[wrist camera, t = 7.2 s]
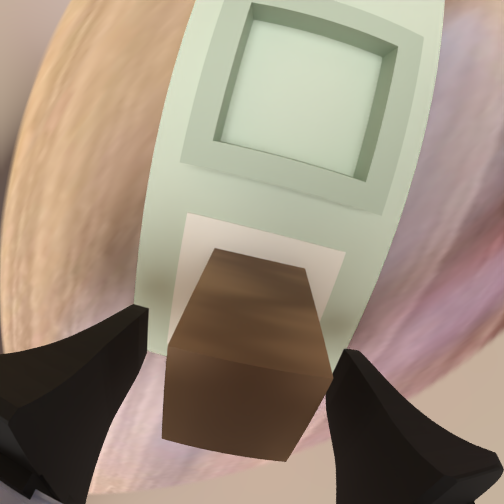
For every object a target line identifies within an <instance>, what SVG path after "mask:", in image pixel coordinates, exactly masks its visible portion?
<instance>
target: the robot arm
mask: <svg viewBox="0 0 504 504" xmlns="http://www.w3.org/2000/svg"><path fill="white" fill-rule="evenodd" d="M148 319H149V308H146V307H142V306H139V305H135V304H133V305H131V306H129V307H127V308H125V309H123V310H122V311H120V312H118V313H116V314H114V315H113V316H111V317H109V318H107V319H105V320H103V321H102V322H100V323H98V324H96V325H94V326H92V327H90V328H88V329H86V330H83V331H81V332H79V333H77V334H75V335H73V336H70V337H68V338H65V339H63V340H60V341H57V342H54V343H51V344H48V345H45V346H41V347H37V348H33V349H29V350H25V351H20V352H14V353H8V354H0V504H85V503H86V498H87V495H88V491H89V487H90V483H91V480H92V476H93V473H94V469H95V466H96V463H97V460H98V457H99V454H100V451H101V448H102V446H103V443H104V440H105V438H106V435H107V432H108V430H109V427H110V425H111V423H112V421H113V419H114V417H115V415H116V413H117V411H118V409H119V408H120V406H121V404H122V402H123V400H124V399H125V397H126V395H127V393H128V391H129V390H130V388H131V386H132V384H133V383H134V381H135V379H136V377H137V375H138V374H139V371H140V369H141V366H142V364H143V361H144V359H145V356H146V354H147V341H148ZM332 374H333V380H332V382H331V384H330V386H329V388H328V390H327V392H326V411H327V417H328V423H329V429H330V434H331V439H332V445H333V450H334V456H335V464H336V486H337V487H336V504H475V503H474V501H475V500H476V499H477V498H478V497H479V496H481V495H482V494H483V493H484V492H486V491H487V490H488V489H489V488H490V487H491V486H492V485H493V484H495V483H496V482H497V481H498V479H499V478H500V477H501V475H502V473H503V470H504V469H503V466H502V464H501V462H500V460H499V458H498V456H497V454H496V453H495V452H492V451H489V450H487V449H484V448H481V447H479V446H476V445H474V444H472V443H469V442H467V441H465V440H463V439H461V438H459V437H458V436H456V435H454V434H452V433H450V432H449V431H447V430H446V429H444V428H442V427H441V426H439V425H438V424H436V423H435V422H433V421H432V420H431V419H429V418H428V417H427V416H425V415H424V414H423V413H421V412H420V411H419V410H418V409H416V408H415V407H414V406H413V405H412V404H411V403H410V402H409V401H407V400H406V399H405V398H404V397H403V396H402V395H401V394H400V393H399V392H398V391H397V390H396V389H395V388H394V387H393V386H392V385H391V384H390V383H389V382H388V381H387V380H386V379H385V378H384V376H383V375H382V374H381V373H380V372H379V371H378V370H377V369H376V368H375V367H374V366H373V365H372V363H371V362H370V361H369V360H368V359H367V358H366V357H365V356H364V355H363V354H362V353H361V352H360V351H358V350H351V349H344V350H343V352H342V354H341V356H340V358H339V361H338V363H337V365H336V367H335V369H334V371H333V373H332Z"/></svg>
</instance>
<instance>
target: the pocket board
mask: <svg viewBox="0 0 504 504" xmlns="http://www.w3.org/2000/svg"><path fill="white" fill-rule="evenodd" d="M444 2H445V0H196V2H195V4H194V7H193V10H192V13H191V16H190V19H189V22H188V25H187V28H186V31H185V34H184V37H183V40H182V43H181V46H180V49H179V53H178V56H177V60H176V63H175V66H174V70H173V74H172V77H171V81H170V85H169V88H168V92H167V96H166V100H165V104H164V108H163V112H162V117H161V121H160V125H159V130H158V135H157V139H156V144H155V149H154V154H153V159H152V164H151V170H150V175H149V181H148V187H147V193H146V199H145V206H144V212H143V219H142V227H141V234H140V243H139V251H138V261H137V271H136V282H135V294H134V304H135V305H139V306H142V307H146V308H149V319H148V341H147V351H150V352H153V353H157V354H160V355H163V356H167V348H168V344H169V342H170V339H171V337H172V335H173V333H174V331H175V329H176V327H177V325H178V322H179V320H180V318H181V316H182V314H183V312H184V310H185V308H186V306H187V304H188V301H189V299H190V297H191V295H192V293H193V291H194V289H195V287H196V285H197V283H198V281H199V279H200V277H201V275H202V273H203V271H204V269H205V267H206V265H207V263H208V261H209V258H210V256H211V254H212V252H213V250H214V248H217V249H222V250H226V251H230V252H235V253H239V254H244V255H248V256H252V257H257V258H261V259H265V260H270V261H274V262H279V263H283V264H287V265H292V266H296V267H301V268H305V270H306V274H307V277H308V281H309V284H310V288H311V292H312V295H313V299H314V303H315V307H316V310H317V314H318V318H319V322H320V326H321V330H322V334H323V338H324V342H325V346H326V350H327V354H328V358H329V362H330V366H331V370H332V373H333V371H334V369H335V367H336V365H337V363H338V361H339V358H340V356H341V354H342V352H343V350H344V349H347V347H348V345H349V343H350V340H351V338H352V336H353V334H354V332H355V330H356V328H357V326H358V323H359V321H360V319H361V317H362V315H363V312H364V310H365V308H366V306H367V303H368V301H369V299H370V296H371V294H372V292H373V289H374V287H375V284H376V282H377V280H378V277H379V275H380V272H381V270H382V267H383V264H384V262H385V259H386V257H387V254H388V251H389V249H390V246H391V243H392V240H393V238H394V235H395V232H396V229H397V226H398V223H399V220H400V217H401V214H402V211H403V208H404V205H405V202H406V199H407V196H408V192H409V189H410V186H411V182H412V179H413V176H414V172H415V168H416V165H417V161H418V157H419V154H420V150H421V146H422V142H423V138H424V134H425V129H426V125H427V120H428V116H429V111H430V106H431V101H432V96H433V91H434V85H435V80H436V74H437V67H438V60H439V53H440V46H441V37H442V27H443V16H444Z"/></svg>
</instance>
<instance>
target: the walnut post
mask: <svg viewBox="0 0 504 504" xmlns="http://www.w3.org/2000/svg"><path fill="white" fill-rule="evenodd" d="M332 380H333V374H332V370H331V366H330V362H329V358H328V354H327V350H326V346H325V342H324V338H323V334H322V330H321V326H320V322H319V318H318V314H317V310H316V307H315V303H314V299H313V295H312V292H311V288H310V284H309V281H308V277H307V274H306V270H305V268H301V267H296V266H292V265H287V264H283V263H279V262H274V261H270V260H265V259H261V258H257V257H252V256H248V255H244V254H239V253H235V252H230V251H226V250H222V249H217V248H214V250H213V252H212V254H211V256H210V258H209V261H208V263H207V265H206V267H205V269H204V271H203V273H202V275H201V277H200V279H199V281H198V283H197V285H196V287H195V289H194V291H193V293H192V295H191V297H190V299H189V301H188V304H187V306H186V308H185V310H184V312H183V314H182V316H181V318H180V320H179V322H178V325H177V327H176V329H175V331H174V333H173V335H172V337H171V339H170V342H169V344H168V348H167V359H166V371H165V385H164V401H163V420H162V439H165V440H169V441H173V442H176V443H180V444H184V445H188V446H193V447H197V448H201V449H206V450H211V451H216V452H221V453H226V454H232V455H237V456H244V457H250V458H257V459H265V460H273V461H284V462H286V461H287V459H288V458H289V456H290V455H291V453H292V451H293V450H294V448H295V446H296V445H297V443H298V442H299V440H300V438H301V437H302V435H303V433H304V431H305V430H306V428H307V426H308V425H309V423H310V421H311V419H312V418H313V416H314V414H315V412H316V410H317V409H318V407H319V405H320V403H321V401H322V399H323V398H324V396H325V394H326V392H327V390H328V388H329V386H330V384H331V382H332Z"/></svg>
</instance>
